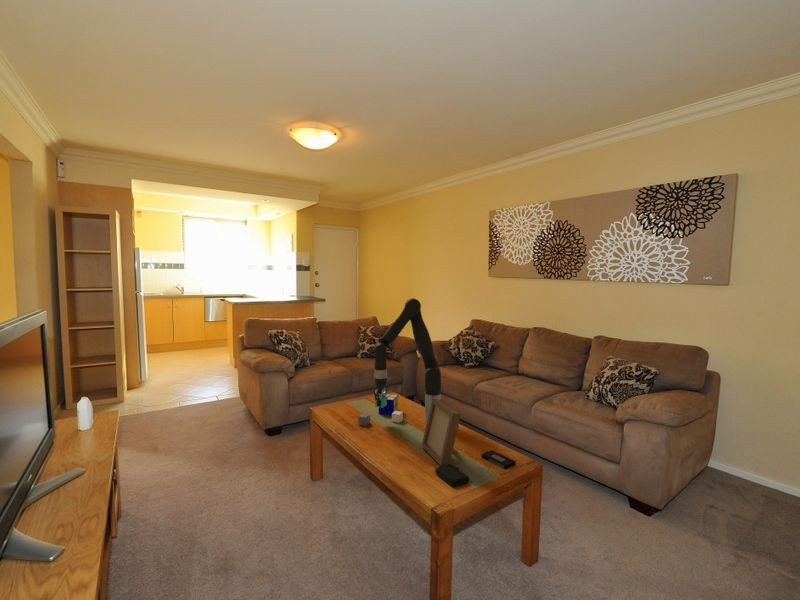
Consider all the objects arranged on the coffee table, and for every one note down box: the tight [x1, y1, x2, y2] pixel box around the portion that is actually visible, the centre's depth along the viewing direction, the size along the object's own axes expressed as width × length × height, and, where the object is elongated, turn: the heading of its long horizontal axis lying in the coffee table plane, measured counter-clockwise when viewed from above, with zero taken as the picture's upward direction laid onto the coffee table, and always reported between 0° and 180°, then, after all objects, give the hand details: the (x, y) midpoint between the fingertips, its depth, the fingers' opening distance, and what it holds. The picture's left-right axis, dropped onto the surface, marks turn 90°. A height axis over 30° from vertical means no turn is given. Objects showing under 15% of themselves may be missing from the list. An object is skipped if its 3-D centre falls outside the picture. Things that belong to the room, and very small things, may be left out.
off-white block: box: [391, 410, 404, 424], centre depth 237 cm, size 5×5×5 cm
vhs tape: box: [480, 449, 516, 470], centre depth 187 cm, size 8×14×2 cm, turn 37°
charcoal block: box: [357, 413, 371, 427], centre depth 232 cm, size 5×5×5 cm
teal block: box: [374, 396, 387, 408], centre depth 234 cm, size 5×5×5 cm
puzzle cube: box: [378, 393, 399, 416], centre depth 251 cm, size 10×10×10 cm
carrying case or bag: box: [434, 463, 470, 488], centre depth 172 cm, size 11×3×15 cm
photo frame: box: [421, 399, 462, 467], centre depth 192 cm, size 15×22×25 cm
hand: (381, 404), depth 234 cm, fingers closed on teal block, 5 cm apart
